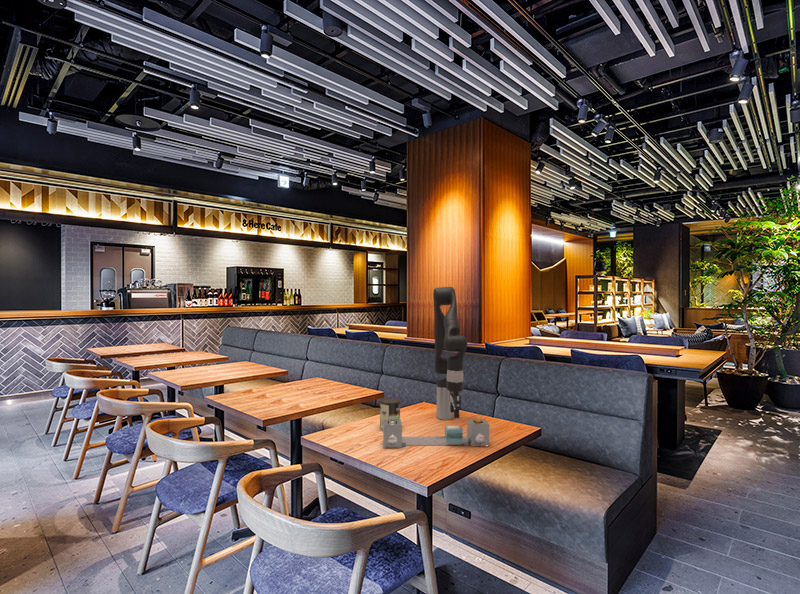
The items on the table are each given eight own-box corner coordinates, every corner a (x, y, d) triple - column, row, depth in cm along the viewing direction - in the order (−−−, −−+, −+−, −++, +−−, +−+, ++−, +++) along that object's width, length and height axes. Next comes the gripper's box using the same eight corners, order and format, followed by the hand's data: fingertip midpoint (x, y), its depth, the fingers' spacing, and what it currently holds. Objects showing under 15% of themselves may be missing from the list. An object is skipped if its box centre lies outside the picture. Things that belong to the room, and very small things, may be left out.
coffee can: (401, 425, 214) (401, 398, 214) (398, 432, 203) (398, 403, 203) (381, 424, 215) (382, 397, 215) (377, 430, 205) (378, 402, 205)
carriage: (444, 439, 191) (445, 425, 191) (459, 438, 191) (460, 424, 191) (447, 443, 185) (447, 428, 185) (462, 443, 186) (462, 428, 186)
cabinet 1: (382, 441, 190) (383, 418, 190) (400, 441, 191) (400, 418, 191) (383, 448, 181) (383, 424, 181) (401, 448, 182) (402, 424, 182)
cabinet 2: (467, 440, 193) (467, 419, 193) (483, 440, 193) (484, 418, 193) (471, 447, 184) (471, 424, 184) (489, 447, 185) (489, 424, 185)
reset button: (474, 424, 190) (474, 415, 190) (480, 424, 191) (480, 415, 191) (475, 426, 188) (475, 417, 188) (481, 426, 188) (481, 416, 188)
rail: (400, 442, 190) (400, 435, 190) (465, 441, 192) (465, 434, 192) (401, 446, 184) (401, 440, 184) (468, 446, 186) (468, 439, 186)
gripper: (444, 376, 195) (443, 410, 195) (449, 383, 181) (449, 420, 181) (459, 376, 195) (459, 410, 196) (466, 383, 181) (466, 420, 182)
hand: (454, 415), depth 188 cm, fingers open, 8 cm apart
